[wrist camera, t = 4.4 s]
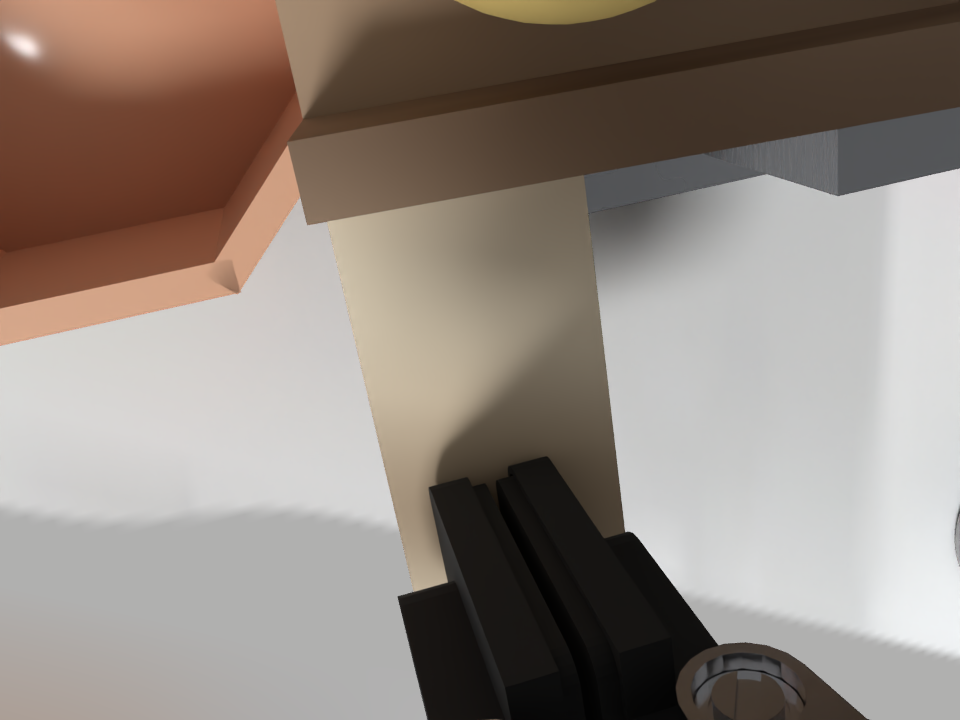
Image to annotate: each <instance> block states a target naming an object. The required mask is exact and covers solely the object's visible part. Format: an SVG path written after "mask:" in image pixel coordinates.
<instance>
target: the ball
mask: <svg viewBox="0 0 960 720" xmlns="http://www.w3.org/2000/svg"><path fill="white" fill-rule="evenodd" d="M455 1H457V2H459V3H461V4H464V5H466V6H468V7H470V8H473V9H475V10H477V11H480V12H482V13H485V14H488V15H492V16H496V17H500V18H504V19H509V20H513V21H518V22H523V23H534V24H575V23H583V22H590V21H596V20H601V19H606V18H611V17H614V16H617V15H620V14H623V13H626V12H629V11H632V10H635V9H637V8H640V7H642V6H645V5H647V4H650V3H652V2H655V1H656V0H455Z"/></svg>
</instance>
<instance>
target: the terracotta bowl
mask: <svg viewBox="0 0 960 720" xmlns="http://www.w3.org/2000/svg"><path fill="white" fill-rule="evenodd" d="M302 120H303V117H302V113H301V109H300V104H299V100H298V96H297V92H296V87H295V83H294V79H293V74H292V70H291V66H290V62H289V57H288V53H287V49H286V45H285V40H284V36H283V32H282V28H281V23H280V19H279V15H278V10H277V6H276V2H275V0H0V346H1V345H6V344H10V343H15V342H19V341H24V340H28V339H33V338H37V337H42V336H46V335H51V334H55V333H60V332H64V331H69V330H73V329H78V328H82V327H87V326H92V325H96V324H101V323H105V322H110V321H114V320H119V319H123V318H128V317H132V316H137V315H141V314H146V313H150V312H155V311H159V310H164V309H168V308H173V307H177V306H182V305H186V304H191V303H195V302H200V301H204V300H209V299H213V298H218V297H222V296H227V295H231V294H238V293H240V292H241V289H242V287H243V285H244V284H245V282H246V281H247V279H248V278H249V276H250V274H251V273H252V271H253V270H254V268H255V266H256V265H257V263H258V262H259V260H260V259H261V257H262V255H263V254H264V252H265V251H266V249H267V248H268V246H269V244H270V243H271V241H272V240H273V238H274V237H275V235H276V233H277V232H278V230H279V229H280V227H281V226H282V224H283V222H284V221H285V219H286V218H287V216H288V215H289V213H290V211H291V210H292V208H293V207H294V205H295V204H296V202H297V200H298V199H299V197H300V193H299V189H298V185H297V181H296V177H295V173H294V169H293V165H292V161H291V156H290V152H289V148H288V144H287V141H288V140H289V138H290V137H291V136H292V134H293V133H294V131H295V130H296V129H297V127H298V126H299V124H300V123H301V121H302Z"/></svg>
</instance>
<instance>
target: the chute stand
mask: <svg viewBox="0 0 960 720" xmlns="http://www.w3.org/2000/svg"><path fill="white" fill-rule="evenodd" d="M959 168H960V107H957V108H952V109H946V110H941V111H935V112H930V113H924V114H919V115H913V116H908V117H902V118H896V119H891V120H885V121H880V122H874V123H869V124H863V125H858V126H852V127H847V128H841V129H836V130H830V131H825V132H819V133H814V134H808V135H803V136H797V137H792V138H786V139H781V140H775V141H769V142H764V143H758V144H753V145H747V146H742V147H736V148H731V149H725V150H720V151H714V152H709V153H703V154H698V155H692V156H687V157H681V158H676V159H670V160H665V161H659V162H654V163H648V164H642V165H637V166H631V167H626V168H620V169H615V170H609V171H604V172H598V173H593V174H587V175H584V180H585V189H586V198H587V207H588V213H593V212H597V211H602V210H606V209H611V208H615V207H620V206H625V205H629V204H634V203H638V202H643V201H647V200H652V199H656V198H661V197H665V196H670V195H674V194H679V193H683V192H688V191H692V190H697V189H701V188H706V187H710V186H715V185H719V184H724V183H728V182H733V181H737V180H742V179H746V178H751V177H756V176H760V175H765V174H769V175H772V176H775V177H778V178H781V179H785V180H788V181H791V182H794V183H797V184H801V185H804V186H807V187H810V188H814V189H817V190H820V191H823V192H826V193H830V194H833V195H836V196H840V195H845V194H849V193H854V192H858V191H862V190H867V189H871V188H875V187H880V186H884V185H889V184H893V183H897V182H902V181H906V180H910V179H915V178H919V177H924V176H928V175H932V174H937V173H941V172H945V171H950V170H954V169H959Z"/></svg>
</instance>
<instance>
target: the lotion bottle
mask: <svg viewBox="0 0 960 720" xmlns="http://www.w3.org/2000/svg"><path fill="white" fill-rule="evenodd" d="M955 549H956V557H957V561H958V564H959V567H960V514H959V517H958V521H957V526H956V533H955Z"/></svg>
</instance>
